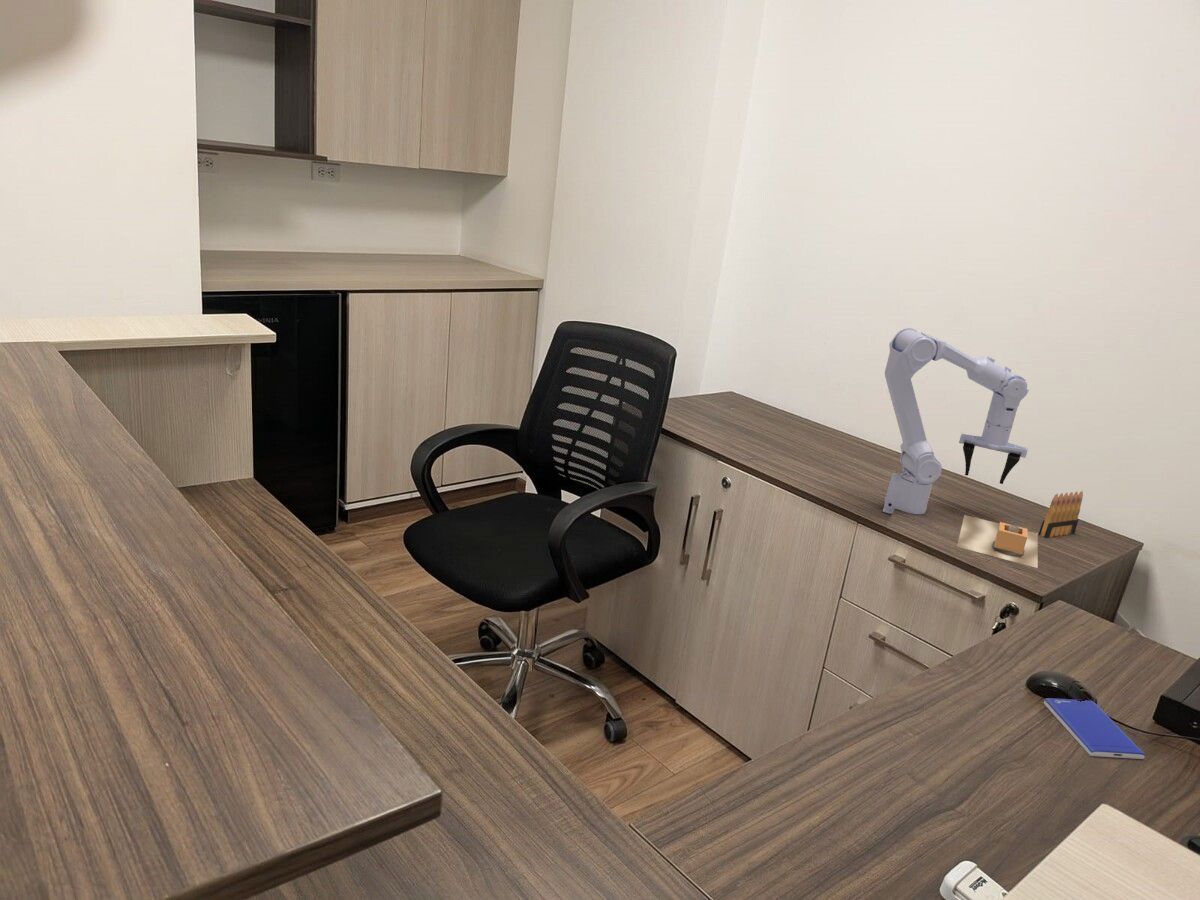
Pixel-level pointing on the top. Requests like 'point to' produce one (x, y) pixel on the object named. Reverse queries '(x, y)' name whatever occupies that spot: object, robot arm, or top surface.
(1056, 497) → the ammunition clip
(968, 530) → the post board
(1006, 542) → the collar
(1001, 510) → the top surface
